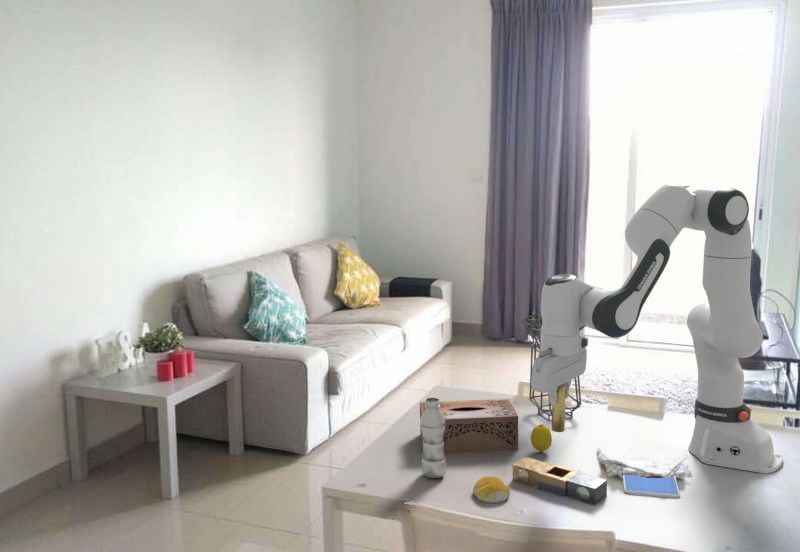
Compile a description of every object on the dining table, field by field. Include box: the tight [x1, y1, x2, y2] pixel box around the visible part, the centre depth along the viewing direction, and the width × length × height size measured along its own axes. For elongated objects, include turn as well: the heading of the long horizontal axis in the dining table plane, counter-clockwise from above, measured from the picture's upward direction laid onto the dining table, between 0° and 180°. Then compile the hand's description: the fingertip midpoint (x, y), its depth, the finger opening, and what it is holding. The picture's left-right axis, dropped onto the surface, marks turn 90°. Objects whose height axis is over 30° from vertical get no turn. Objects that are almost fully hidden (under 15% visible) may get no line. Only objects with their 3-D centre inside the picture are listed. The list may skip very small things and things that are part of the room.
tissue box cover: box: [419, 398, 519, 454], centre depth 205 cm, size 26×14×10 cm, turn 92°
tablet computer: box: [622, 475, 681, 499], centre depth 180 cm, size 19×13×1 cm, turn 165°
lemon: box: [530, 423, 553, 453], centre depth 197 cm, size 6×6×8 cm
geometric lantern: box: [520, 310, 587, 422], centre depth 221 cm, size 16×16×35 cm
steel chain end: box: [537, 471, 608, 506], centre depth 174 cm, size 15×7×4 cm, turn 49°
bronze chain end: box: [512, 456, 581, 489], centre depth 179 cm, size 15×7×4 cm, turn 49°
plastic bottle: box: [419, 397, 448, 479], centre depth 184 cm, size 6×7×20 cm
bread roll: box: [472, 475, 511, 504], centre depth 174 cm, size 8×9×4 cm
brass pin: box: [551, 384, 566, 433], centre depth 173 cm, size 3×3×11 cm
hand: (558, 400), depth 173 cm, fingers closed on brass pin, 3 cm apart
